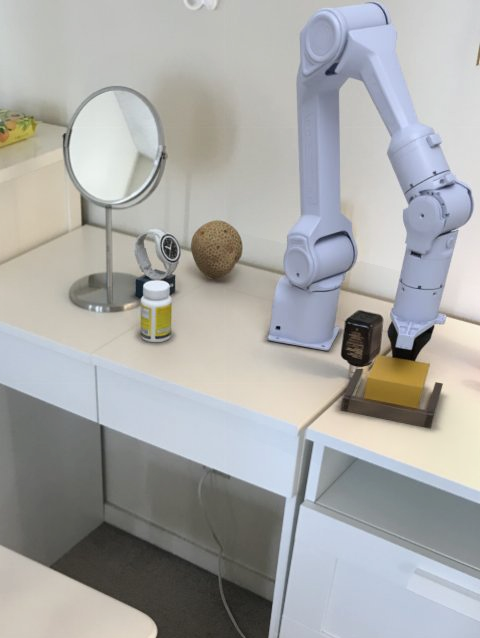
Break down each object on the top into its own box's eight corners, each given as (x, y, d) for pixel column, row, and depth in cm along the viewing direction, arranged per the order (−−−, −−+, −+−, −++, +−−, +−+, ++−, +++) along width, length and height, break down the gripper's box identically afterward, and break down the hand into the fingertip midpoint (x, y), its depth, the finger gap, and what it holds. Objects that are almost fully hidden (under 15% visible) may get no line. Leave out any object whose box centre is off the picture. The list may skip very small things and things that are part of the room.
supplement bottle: (173, 331, 129) (175, 280, 124) (167, 344, 126) (169, 292, 121) (144, 328, 130) (144, 277, 125) (137, 341, 127) (137, 290, 122)
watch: (164, 305, 137) (166, 241, 130) (127, 293, 141) (127, 230, 134) (184, 295, 140) (187, 231, 133) (147, 283, 144) (148, 221, 138)
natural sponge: (208, 263, 151) (212, 209, 145) (249, 275, 146) (255, 219, 140) (179, 279, 146) (182, 223, 140) (221, 291, 141) (226, 234, 135)
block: (362, 403, 111) (367, 377, 108) (372, 379, 116) (377, 354, 113) (416, 413, 108) (422, 387, 106) (423, 389, 113) (430, 363, 111)
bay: (340, 410, 109) (342, 397, 108) (354, 379, 116) (356, 367, 115) (430, 428, 105) (434, 415, 104) (439, 396, 112) (443, 383, 111)
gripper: (447, 307, 100) (422, 403, 108) (460, 265, 110) (436, 356, 119) (388, 298, 102) (368, 393, 111) (406, 258, 113) (387, 347, 121)
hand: (400, 373), depth 115 cm, fingers closed
